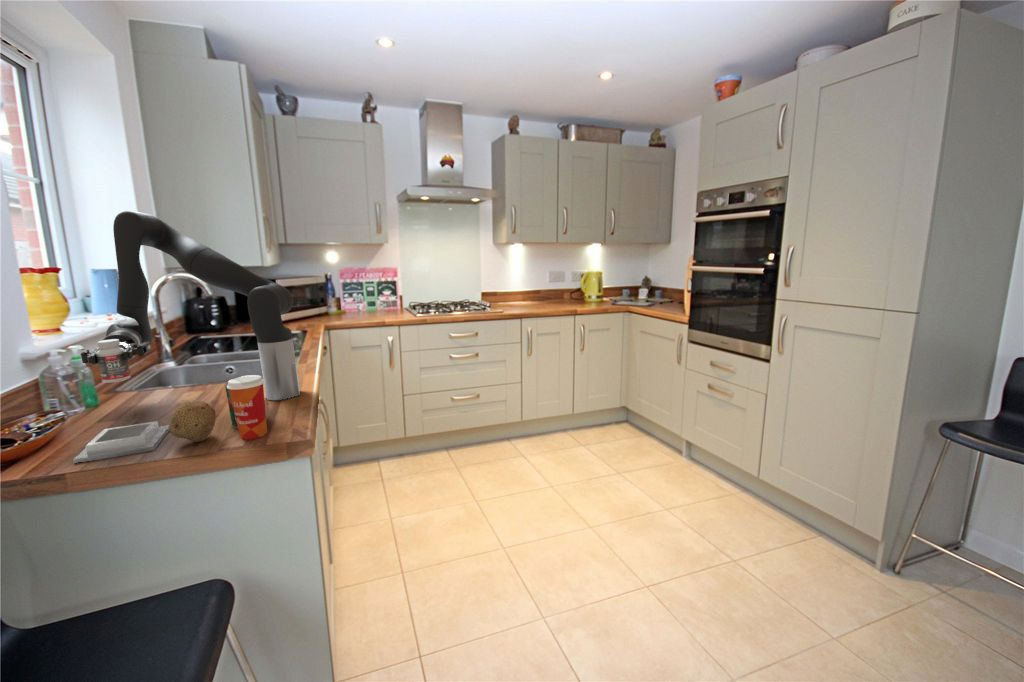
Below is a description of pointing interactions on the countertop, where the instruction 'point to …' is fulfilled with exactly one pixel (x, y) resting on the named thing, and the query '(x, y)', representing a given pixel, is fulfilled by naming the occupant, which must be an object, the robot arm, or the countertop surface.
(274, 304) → the robot arm
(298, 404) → the countertop surface
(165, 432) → the duct collar
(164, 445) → the countertop surface
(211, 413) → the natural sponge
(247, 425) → the paper cup
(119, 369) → the pill bottle
